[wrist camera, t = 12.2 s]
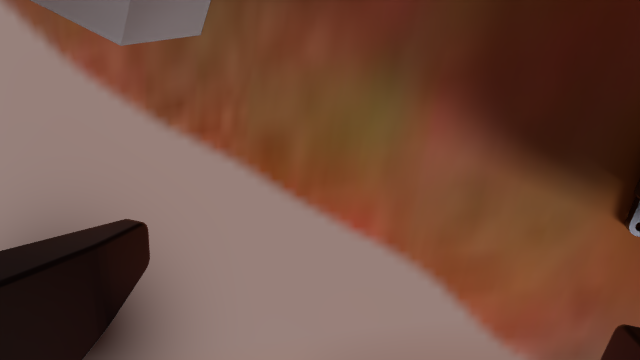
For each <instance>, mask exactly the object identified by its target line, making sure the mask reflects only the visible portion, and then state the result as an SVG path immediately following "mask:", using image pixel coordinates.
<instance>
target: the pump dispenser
mask: <svg viewBox="0 0 640 360" xmlns="http://www.w3.org/2000/svg"><path fill="white" fill-rule="evenodd" d="M31 1H33V2H35V3H37V4H39V5H41V6H43V7H45V8H47V9H49V10H51V11H53V12H55V13H57V14H59V15H61V16H63V17H65V18H67V19H69V20H71V21H73V22H75V23H77V24H79V25H81V26H83V27H85V28H87V29H89V30H91V31H93V32H95V33H97V34H99V35H101V36H103V37H105V38H107V39H109V40H111V41H112V42H114V43H116V44H118V45H120V46H122V45H129V44H137V43H144V42H152V41H159V40H167V39H174V38H182V37H189V36H197V35H201V32H202V28H203V25H204V21H205V18H206V15H207V11H208V8H209V4H210V1H211V0H31Z"/></svg>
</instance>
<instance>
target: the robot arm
mask: <svg viewBox="0 0 640 360" xmlns="http://www.w3.org/2000/svg"><path fill="white" fill-rule="evenodd" d="M635 194H636V198H635V200H634V203H633V205H632V207H631V210H630V212H629V214H628V216H627V219H626V222H625V225H626V228H627V229H628V230H629V231H630V232H631V233H632V234H633V235H635V236H638V237H640V227H636V224H637V223H639V222H640V180H639V182H638V184H637V186H636V189H635ZM149 260H150V251H149V235H148V227H147V225H146V224H145V223H143V222H139V221H134V220H130V219H124V220H120V221H116V222H113V223H109V224H104V225H101V226H97V227H93V228H89V229H85V230H81V231H77V232H73V233H69V234H65V235H61V236H57V237H53V238H49V239H46V240H42V241H38V242H34V243H30V244H26V245H22V246H18V247H14V248H10V249H6V250H2V251H0V360H82V359H83V358H84V357H85V356H86V354H87V353H88V352H89V351H90V349H91V348H92V347H93V346H94V345H95V343H96V342H97V341H98V339H99V338H100V337H101V335H102V334H103V333H104V332H105V330H106V329H107V328H108V326H109V325H110V323H111V322H112V321H113V319H114V318H115V316H116V315H117V313H118V311H119V310H120V308H121V307H122V305H123V304H124V302H125V301H126V299H127V298H128V296H129V295H130V293H131V292H132V290H133V289H134V287H135V285H136V284H137V282H138V281H139V279H140V278H141V276H142V275H143V273H144V272H145V270H146V268H147V266H148V264H149ZM601 360H640V328H639V327H635V326H630V325H625V324H623V325H620V326H618V327H617V328H616V329H615V331H614V332H613V335H612V337H611V339H610V341H609V343H608V345H607V347H606V349H605V351H604V353H603V355H602V358H601Z"/></svg>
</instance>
